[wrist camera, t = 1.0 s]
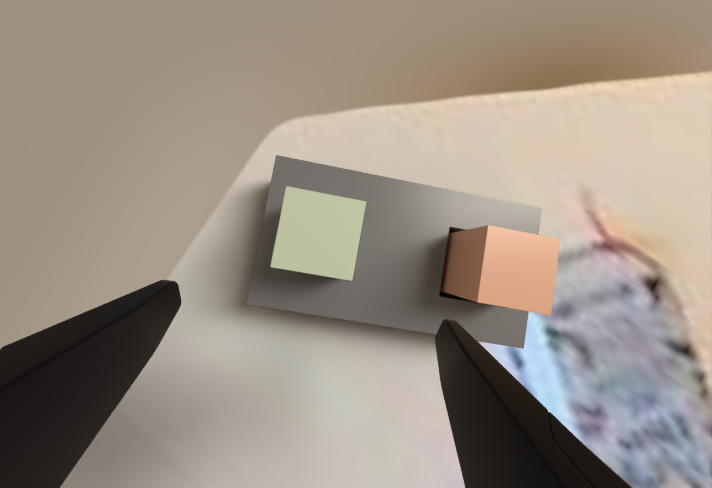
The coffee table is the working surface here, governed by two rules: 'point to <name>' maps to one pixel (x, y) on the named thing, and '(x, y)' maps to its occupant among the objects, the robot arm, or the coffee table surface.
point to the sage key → (318, 234)
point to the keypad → (389, 254)
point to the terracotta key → (501, 268)
